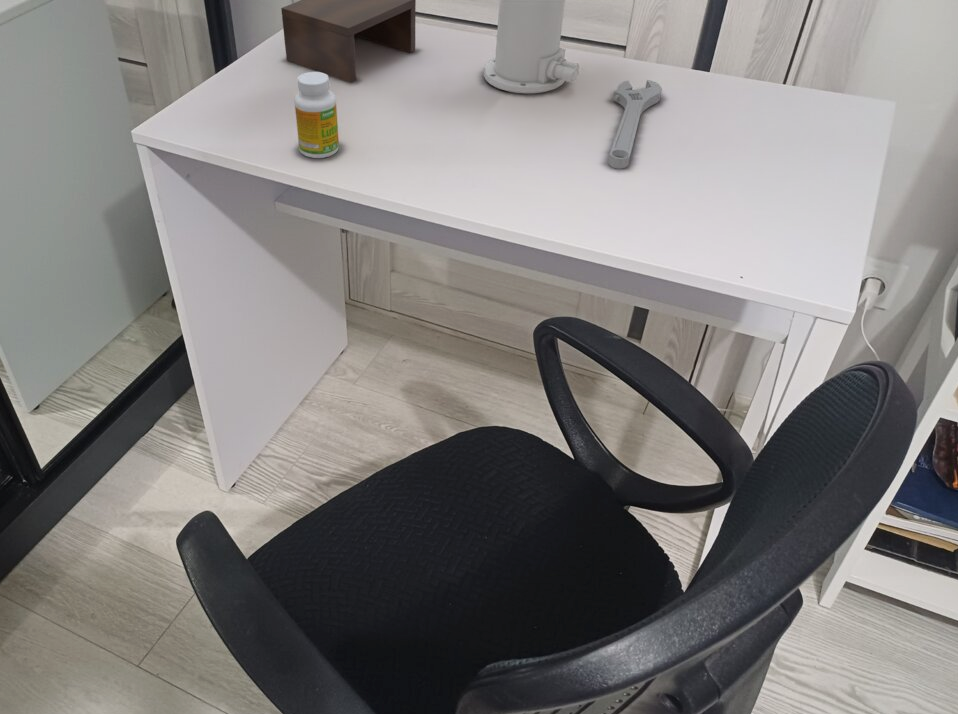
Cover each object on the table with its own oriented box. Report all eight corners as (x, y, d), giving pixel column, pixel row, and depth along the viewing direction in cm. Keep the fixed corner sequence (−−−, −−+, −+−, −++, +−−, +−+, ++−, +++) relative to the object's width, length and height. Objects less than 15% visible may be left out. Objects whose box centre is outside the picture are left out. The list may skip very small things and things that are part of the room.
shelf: (415, 50, 135) (415, -2, 129) (351, 82, 126) (348, 28, 120) (351, 31, 141) (349, -20, 135) (286, 60, 132) (281, 7, 127)
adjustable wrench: (627, 171, 106) (629, 158, 105) (578, 162, 108) (580, 150, 107) (662, 93, 122) (665, 81, 121) (619, 87, 124) (622, 75, 123)
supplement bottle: (327, 162, 109) (321, 89, 102) (292, 154, 110) (284, 82, 103) (346, 145, 112) (341, 73, 105) (311, 137, 114) (305, 66, 107)
